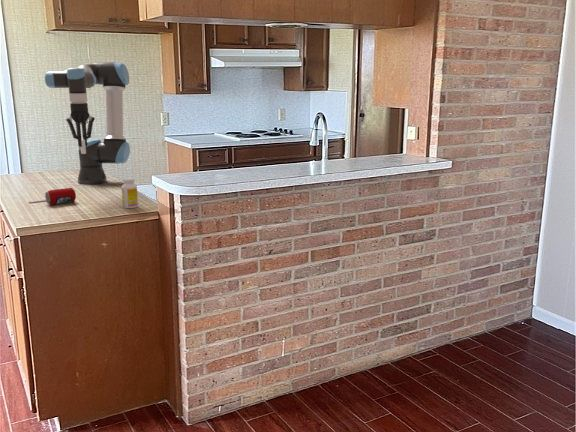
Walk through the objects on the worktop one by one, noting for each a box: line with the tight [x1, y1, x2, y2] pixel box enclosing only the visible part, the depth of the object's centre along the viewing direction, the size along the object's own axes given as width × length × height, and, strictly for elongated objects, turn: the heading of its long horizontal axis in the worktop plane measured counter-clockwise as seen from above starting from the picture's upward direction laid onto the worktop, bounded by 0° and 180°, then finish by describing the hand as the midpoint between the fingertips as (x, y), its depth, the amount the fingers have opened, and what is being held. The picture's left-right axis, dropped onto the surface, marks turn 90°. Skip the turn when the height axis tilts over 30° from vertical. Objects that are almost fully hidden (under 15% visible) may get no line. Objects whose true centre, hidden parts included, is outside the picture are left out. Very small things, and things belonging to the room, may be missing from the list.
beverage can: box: [44, 187, 77, 206], centre depth 253 cm, size 7×7×12 cm
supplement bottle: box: [121, 177, 139, 209], centre depth 247 cm, size 7×7×13 cm
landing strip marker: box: [28, 199, 46, 204], centre depth 259 cm, size 18×2×1 cm, turn 127°
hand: (83, 153), depth 260 cm, fingers closed
